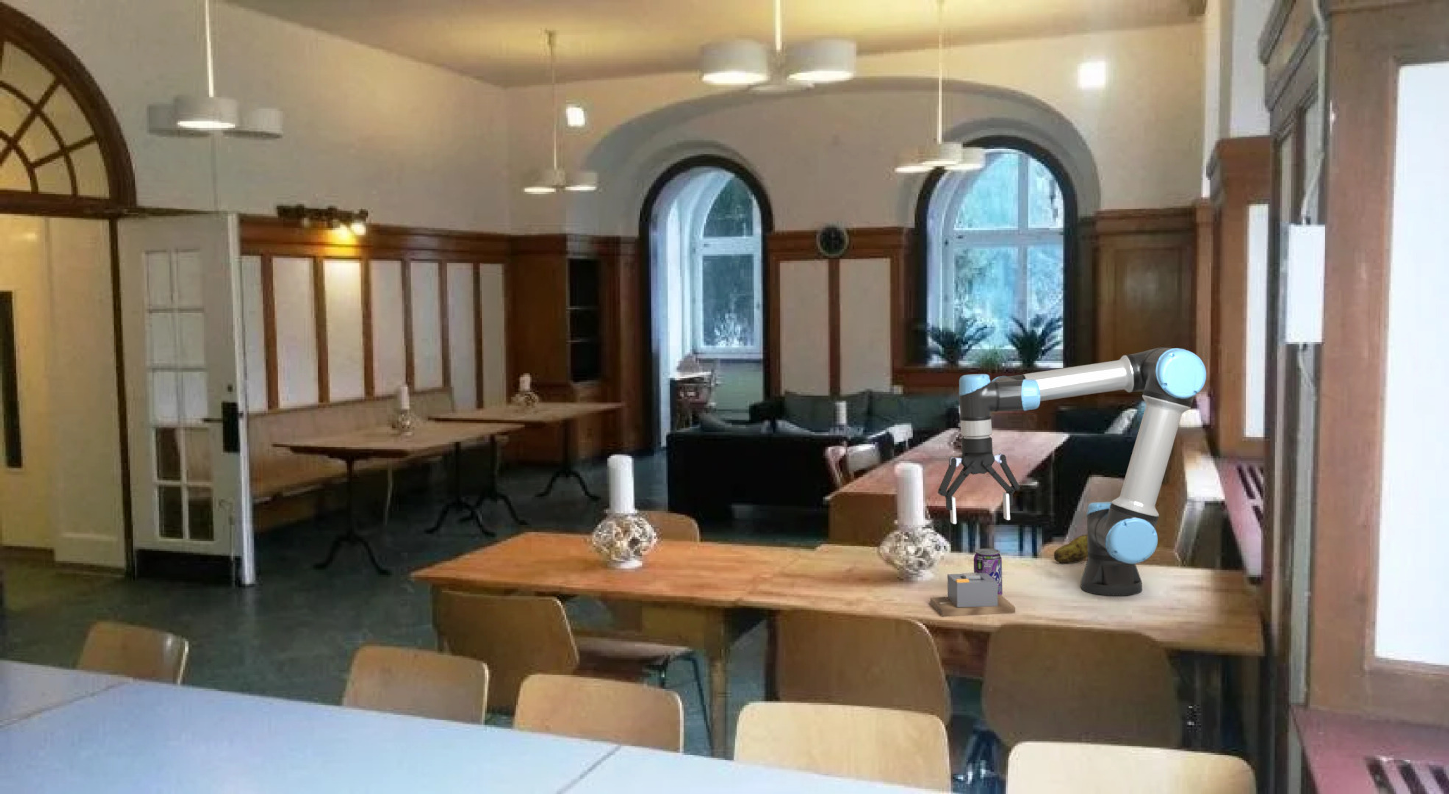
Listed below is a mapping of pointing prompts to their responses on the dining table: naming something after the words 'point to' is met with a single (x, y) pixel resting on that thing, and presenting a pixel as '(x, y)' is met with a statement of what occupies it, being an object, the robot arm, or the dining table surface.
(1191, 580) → the dining table surface
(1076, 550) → the potato
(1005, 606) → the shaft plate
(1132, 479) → the robot arm
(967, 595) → the grey open top crate
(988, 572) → the beverage can
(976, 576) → the shaft
